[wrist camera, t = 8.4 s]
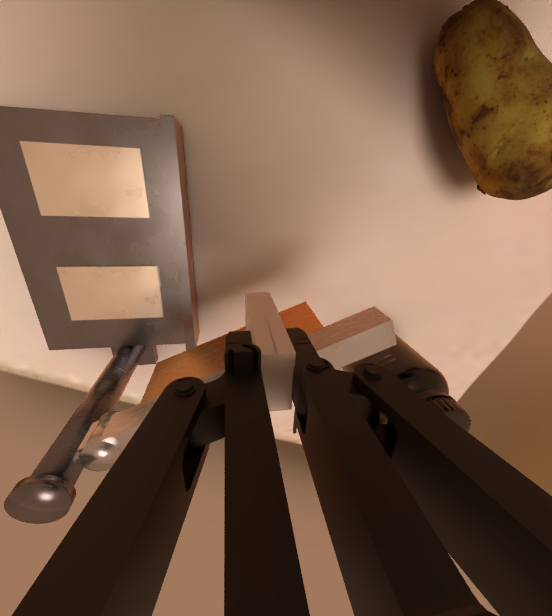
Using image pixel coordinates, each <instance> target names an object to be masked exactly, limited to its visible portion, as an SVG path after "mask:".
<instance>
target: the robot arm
mask: <svg viewBox="0 0 552 616" xmlns="http://www.w3.org/2000/svg"><path fill="white" fill-rule="evenodd" d="M245 308H246V331H231V332H229V333H228V334H227V336H226V337H225V343H226V344H225V348H226V349H225V352H224V362H225V372H224V373H223V375H221V376H220V377H219V378H218V379H216V380H214V381H211V382H208V383H205V384H204V382H203V381H202V380H201V379H199V378H196V377H183V378H179V379H176V380H174V381H172V382H171V383H169V384H168V385H167V386H166V387H165V389H164V390H163V392H162V393H161V395H160V396H159V398H158V399H157V401H156V402H155V404H154V405H153V407H152V408H151V410H150V411H149V413H148V414H147V416H146V417H145V419H144V420H143V422H142V423H141V424H140V426H139V427H138V429H137V430H136V432H135V433H134V435H133V436H132V438H131V439H130V441H129V442H128V444H127V445H126V447H125V448H124V450H123V451H122V453H121V454H120V456H119V457H118V459H117V460H116V462H115V463H114V465H113V466H112V468H111V469H110V471H109V472H108V473H107V475H106V476H105V478H104V479H103V481H102V482H101V484H100V485H99V487H98V488H97V490H96V491H95V493H94V494H93V496H92V497H91V499H90V500H89V502H88V503H87V505H86V506H85V508H84V509H83V511H82V512H81V514H80V515H79V517H78V518H77V520H76V521H75V523H74V524H73V525H72V527H71V528H70V530H69V531H68V533H67V534H66V536H65V537H64V539H63V540H62V542H61V543H60V545H59V546H58V548H57V549H56V551H55V552H54V554H53V555H52V557H51V558H50V560H49V561H48V563H47V564H46V565H45V567H44V568H43V570H42V571H41V573H40V574H39V576H38V577H37V579H36V580H35V582H34V583H33V585H32V586H31V588H30V589H29V591H28V592H27V594H26V595H25V597H24V598H23V600H22V601H21V603H20V604H19V606H18V607H17V609H16V610H15V612H14V613H13V615H12V616H152V613H153V610H154V607H155V604H156V601H157V599H158V596H159V593H160V590H161V587H162V584H163V581H164V578H165V575H166V572H167V569H168V566H169V563H170V561H171V558H172V555H173V552H174V549H175V546H176V543H177V540H178V537H179V534H180V531H181V528H182V525H183V522H184V520H185V517H186V514H187V511H188V508H189V505H190V502H191V499H192V496H193V493H194V490H195V487H196V484H197V482H198V479H199V476H200V473H201V470H202V467H203V464H204V461H205V458H206V455H207V452H208V449H209V445H210V443H211V442H214V441H216V440H219V439H221V438H224V437H225V563H224V564H225V565H224V568H225V571H224V579H225V581H224V582H225V583H224V588H225V590H224V594H225V595H224V616H310V614H309V609H308V604H307V599H306V594H305V589H304V584H303V579H302V574H301V569H300V564H299V559H298V554H297V549H296V544H295V538H294V534H293V529H292V523H291V519H290V513H289V509H288V503H287V498H286V493H285V488H284V483H283V479H282V473H281V468H280V463H279V458H278V453H277V448H276V443H275V438H274V433H273V428H272V423H271V418H270V413H269V411H278V410H288V409H291V408H292V400H293V403H294V406H295V413H294V425H293V433H296V429H297V428H298V432H299V435H300V438H301V442H302V445H303V448H304V451H305V455H306V458H307V461H308V465H309V468H310V471H311V474H312V477H313V481H314V484H315V488H316V491H317V494H318V498H319V501H320V504H321V507H322V511H323V514H324V517H325V521H326V524H327V527H328V530H329V534H330V537H331V540H332V544H333V547H334V550H335V553H336V557H337V560H338V563H339V567H340V570H341V573H342V576H343V580H344V583H345V586H346V590H347V593H348V596H349V600H350V603H351V606H352V609H353V613H354V616H497V615H495V614H493V613H491V612H489V611H487V610H486V609H485V608H484V607H483V606H482V605H481V604H480V603H479V602H478V600H477V599H476V597H475V596H474V595H473V593H472V592H471V590H470V588H469V587H468V585H467V584H466V582H465V580H464V579H463V577H462V575H461V574H460V572H459V570H458V569H457V567H456V566H455V564H454V562H453V561H452V559H451V557H452V558H453V559H454V560H455V562H456V563H457V564H458V565H459V566H460V568H461V569H462V570H463V571H464V572H465V574H466V575H467V576H468V577H469V578H470V580H471V581H472V582H473V583H474V585H475V586H476V587H477V588H478V589H479V591H480V592H481V593H482V594H483V595H484V597H485V598H486V599H487V600H488V601H489V603H490V604H491V605H492V606H493V608H494V609H495V610H496V611H497V613H498V614H499V615H500V616H552V496H550V495H549V494H548V493H547V492H545V491H544V490H543V489H541V488H540V487H539V486H538V485H536V484H535V483H534V482H532V481H531V480H530V479H528V478H527V477H526V476H524V475H523V474H522V473H520V472H519V471H518V470H516V469H515V468H514V467H512V466H511V465H510V464H509V463H507V462H506V461H505V460H503V459H502V458H501V457H500V456H498V455H497V454H495V453H494V452H493V451H492V450H490V449H489V448H488V447H486V446H485V445H484V444H483V443H481V442H480V441H479V440H477V439H476V438H475V437H473V436H472V435H471V434H469V433H468V432H467V431H466V430H464V429H463V428H462V427H460V426H459V425H458V424H456V423H455V422H454V421H452V420H451V419H450V418H449V417H447V416H446V415H445V414H443V413H442V412H441V411H439V410H438V409H437V408H435V407H434V406H433V405H432V404H430V403H429V402H428V401H426V400H425V399H424V398H422V397H421V396H420V395H418V394H417V393H416V392H415V391H413V390H412V389H411V388H409V387H408V386H407V385H405V384H404V383H403V382H401V381H400V380H399V379H397V378H396V377H395V376H394V375H392V374H391V373H390V372H388V371H387V370H386V369H384V368H382V367H381V366H379V365H376V364H373V363H360V364H358V365H356V366H355V368H354V371H353V372H346V371H340V370H335V369H334V367H333V365H332V364H331V363H330V362H329V361H328V360H326V359H324V358H321V357H319V355H318V353H317V352H316V350H315V348H314V346H313V345H312V344H311V341H310V339H309V338H308V336H307V334H306V332H304V331H303V330H302V329H300V328H285V327H284V324H283V322H282V320H281V317H280V315H279V313H278V311H277V308H276V306H275V304H274V301H273V299H272V297H271V295H270V292H260V293H245ZM381 414H384V415H385V416H386V417H387V418H388V422H385V421H384V420H383V419H382V418H381ZM448 553H449V554H450V555H451V557H450V556H449V554H448Z"/></svg>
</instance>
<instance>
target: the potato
mask: <svg viewBox="0 0 552 616" xmlns="http://www.w3.org/2000/svg"><path fill="white" fill-rule="evenodd" d="M433 69H434V76H435V79H436V82H437V83H438V84H439V85H440V86H442V90H443V101H442V102H443V104H444V107H445V111H446V116H447V119H448V123H449V126H450V130H451V132H452V135H453V137H454V140H455V142H456V144H457V146H458V148H459V150H460V151H461V153H462V155H463V157H464V159H465V161H466V162H467V164H468V167H469V169H470V171H471V172H472V175H473V177H474V179H475V180H476V182H477V184H478V185H477V189H478V190H479V191H481V192H482V193H483V194H485V193H487V194H488V195H490V196H493V197H497V198H503V199H509V200H522V199H528V198H531V197H534V196H536V195H539V194H541V193H544V192H546V191H548V190H550V189H551V188H552V63H551V62H550V61H549V60H548V59H547V58H546V57H545V56H544V55H543V54H542V52H541V51H540V49H539V48H538V47H537V45H536V44H535V42H534V40H533V39H532V37H531V35H530V33H529V31H528V29H527V28H526V26H525V25H524V24H523V23H522V21H521V20H520V19H519V18H518V17H517V16H516V15H515V14H514V13H513V12H512V11H511V10H510V9H509V8H508V6H506V5H504V4H502V3H501V2H499V1H497V0H475V1H473V2H471V3H470V4H469V5H465V6H464V7H463V8H462V10H460V11H459V12H457V13H455V14H454V15H452V16H451V17H450V18H449V19H448V20H447V21H446V22H445V24H444V25H443V26H442V29H441V31H440V34H439V36H438V39H437V42H436V46H435V52H434V63H433Z"/></svg>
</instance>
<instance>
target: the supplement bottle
mask: <svg viewBox="0 0 552 616" xmlns="http://www.w3.org/2000/svg"><path fill="white" fill-rule="evenodd" d="M395 338H396V343H397V345H394V346H392V347H389V348H387V349H385V350H382V351H380V352H377V353H375V354H372V355H370V356H368V357H365V358H363V359H360V360H358V361H356V362H353V363H351V364H348V365H346V366H343V367H342V369H343V371H346V372H353V371H354V368H355V366H356V365H358V364H360V363H373V364H376V365H379V366H381V367H382V368H384V369H386V370H387V371H388V372H390V373H391V374H392V375H394V376H395V377H396V378H397V379H399V380H400V381H401V382H403V383H404V384H405V385H407V386H408V387H409V388H411V389H412V390H413V391H415V392H416V393H417V394H418V395H420V396H421V397H422V398H424V399H425V400H426V401H428V402H429V403H430V404H432V405H433V406H434V407H435V408H437V409H438V410H439V411H441V412H442V413H443V414H445V415H446V416H447V417H449V418H450V419H451V420H452V421H454V422H455V423H456V424H458V425H459V426H460V427H462V428H463V429H464V430H466V431H467V432H468V431H469V429H470V425H471V423H470V422H471V420H470V417H469V415H468V414H467V412H466V411H465V410H464V409H463V408H461V407H460V406H459V405H458V404H457V402H456V401H455V400H454V399H453V398H452V397H451V396H450V395H449V389H448V384H447V381H446V379H445V377H444V376H443V374H442V373H441V372H440V371H439V370H438V369H436V368H435V367H434V366H433V365H432V364H431V363H429V362H428V361H427V360H426V359H425V358H423V357H422V356H421V355H420V354H419V353H417V352H416V351H415V350H414V349H413V348H411V347H410V346H409V345H408V344H407V343H405V342H404V341H403V340H402V339H401V338H399V337H398V336H397V335H396V334H395ZM381 418H382V419H383V420H384V421H385V422H388V418H387V417H386V416H385V415H384V414H381Z"/></svg>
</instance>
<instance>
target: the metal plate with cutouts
mask: <svg viewBox="0 0 552 616" xmlns="http://www.w3.org/2000/svg"><path fill="white" fill-rule="evenodd" d="M160 118H161V119H154V118H141V117H129V116H116V115H104V114H91V113H79V112H66V111H54V110H42V109H29V108H17V107H4V106H0V209H1V211H2V214H3V217H4V220H5V223H6V226H7V229H8V232H9V235H10V238H11V240H12V243H13V246H14V249H15V252H16V255H17V258H18V261H19V264H20V267H21V269H22V272H23V275H24V278H25V281H26V284H27V287H28V290H29V293H30V296H31V298H32V301H33V304H34V307H35V310H36V313H37V316H38V319H39V322H40V325H41V328H42V330H43V333H44V336H45V339H46V342H47V345H48V348H49V350H63V349H83V348H103V347H122V346H142V345H162V344H182V343H186V350H189V349H192V348H194V347H196V346H197V341H198V336H199V323H198V311H197V300H196V288H195V276H194V265H193V253H192V241H191V230H190V218H189V206H188V195H187V183H186V171H185V160H184V148H183V136H182V127H181V125H180V124H179V122H178V121H177V120H176V118H175V117H174V116H171V115H160Z"/></svg>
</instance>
